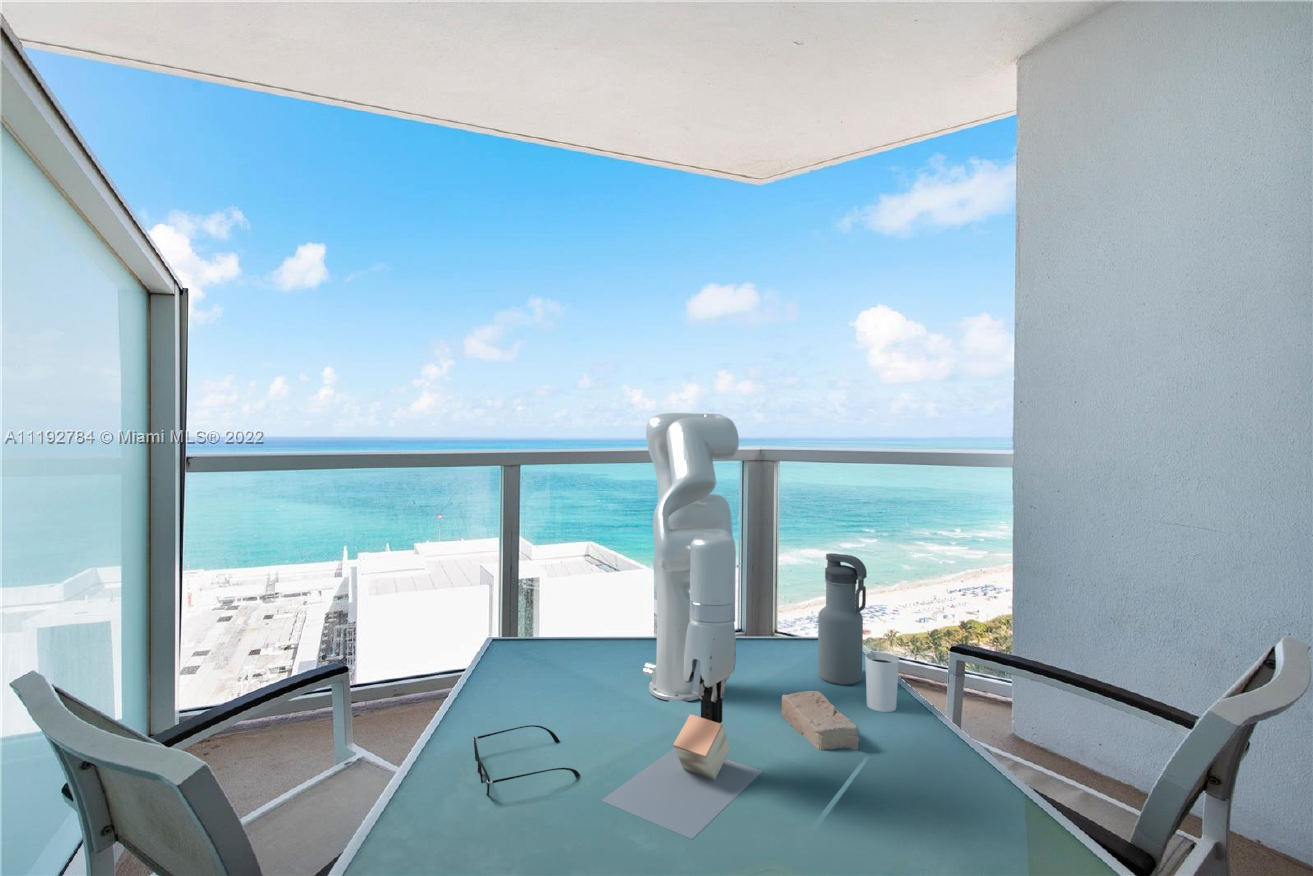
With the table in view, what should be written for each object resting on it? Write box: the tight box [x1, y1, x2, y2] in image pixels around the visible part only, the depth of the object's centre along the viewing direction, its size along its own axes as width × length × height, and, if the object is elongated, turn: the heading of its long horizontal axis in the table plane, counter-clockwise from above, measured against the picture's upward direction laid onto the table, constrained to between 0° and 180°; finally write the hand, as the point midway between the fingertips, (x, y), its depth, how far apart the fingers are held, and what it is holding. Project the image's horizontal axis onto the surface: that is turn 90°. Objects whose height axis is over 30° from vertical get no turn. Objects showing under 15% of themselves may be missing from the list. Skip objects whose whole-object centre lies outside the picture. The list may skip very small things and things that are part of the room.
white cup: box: [864, 651, 900, 713], centre depth 134 cm, size 7×7×10 cm
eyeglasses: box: [472, 724, 581, 796], centre depth 108 cm, size 16×16×4 cm
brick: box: [781, 690, 860, 751], centre depth 123 cm, size 16×8×5 cm, turn 13°
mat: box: [600, 747, 764, 840], centre depth 102 cm, size 16×22×1 cm
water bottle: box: [817, 553, 868, 686], centre depth 149 cm, size 10×10×28 cm
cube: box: [672, 713, 731, 780], centre depth 106 cm, size 6×6×6 cm
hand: (711, 722), depth 108 cm, fingers closed
